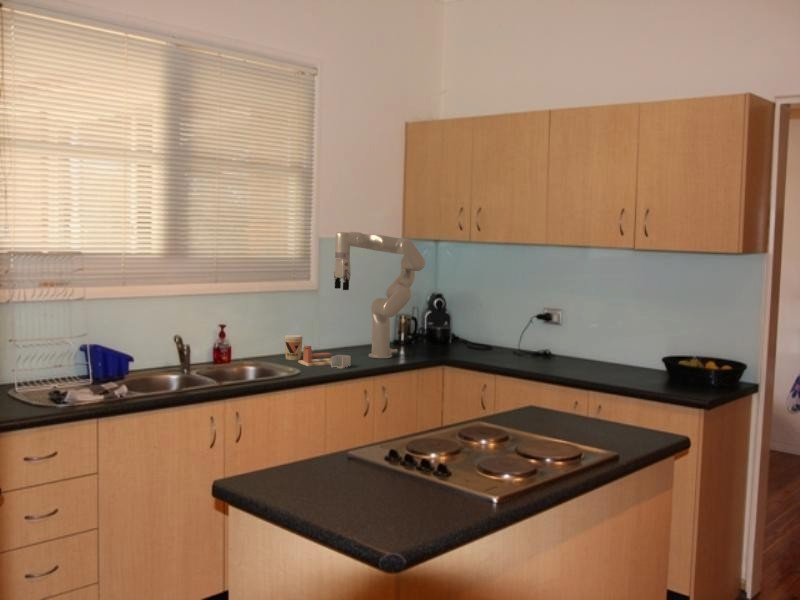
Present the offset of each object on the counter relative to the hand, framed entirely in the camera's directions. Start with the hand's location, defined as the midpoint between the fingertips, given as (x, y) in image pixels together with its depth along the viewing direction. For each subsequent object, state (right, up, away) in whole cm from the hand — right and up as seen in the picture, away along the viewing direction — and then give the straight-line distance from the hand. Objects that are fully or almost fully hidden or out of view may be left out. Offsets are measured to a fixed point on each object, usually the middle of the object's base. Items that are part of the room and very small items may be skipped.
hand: (341, 289), depth 430 cm
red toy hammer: (-12, -37, -11) cm, 40 cm away
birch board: (-8, -37, -9) cm, 39 cm away
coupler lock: (+1, -39, -18) cm, 43 cm away
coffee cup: (-25, -36, +1) cm, 44 cm away
